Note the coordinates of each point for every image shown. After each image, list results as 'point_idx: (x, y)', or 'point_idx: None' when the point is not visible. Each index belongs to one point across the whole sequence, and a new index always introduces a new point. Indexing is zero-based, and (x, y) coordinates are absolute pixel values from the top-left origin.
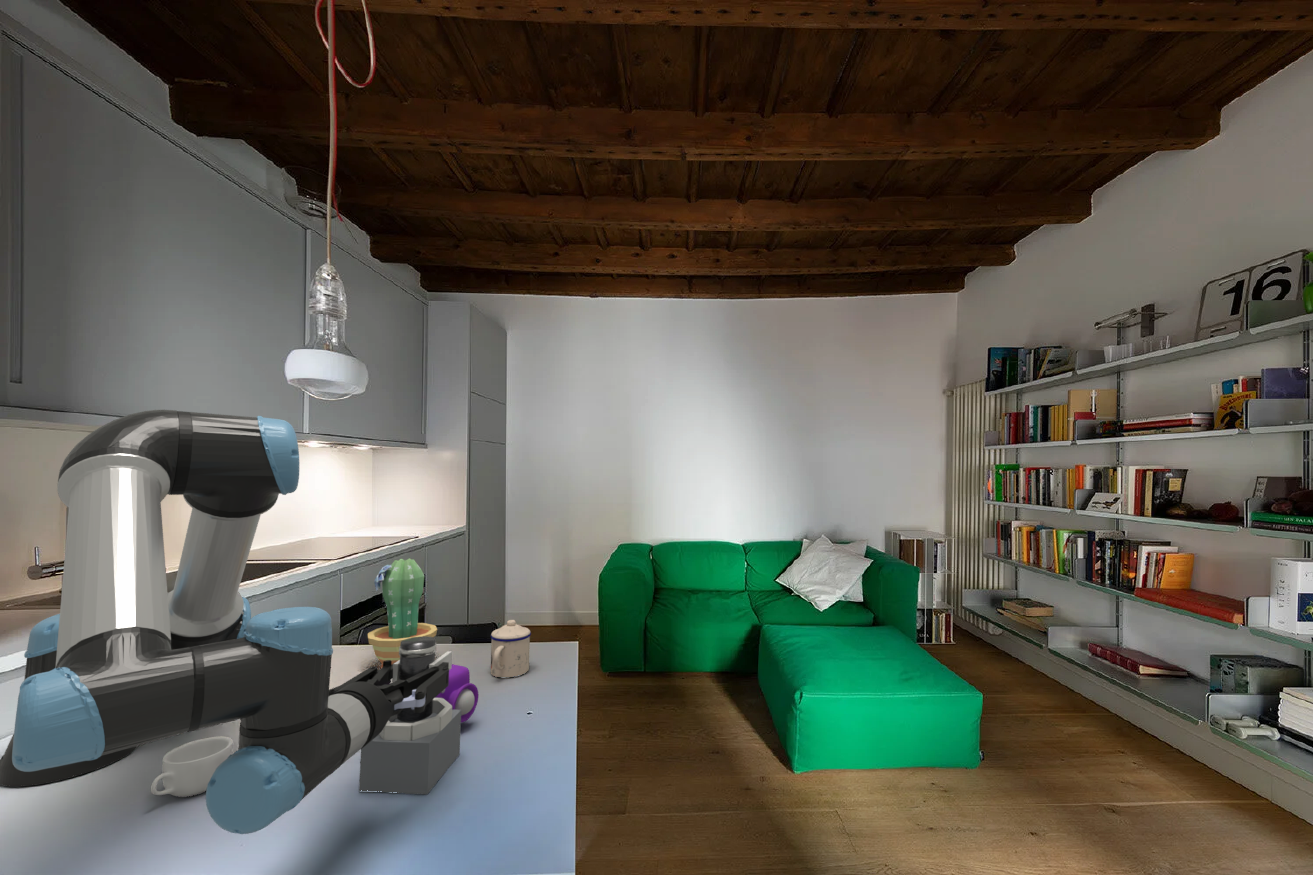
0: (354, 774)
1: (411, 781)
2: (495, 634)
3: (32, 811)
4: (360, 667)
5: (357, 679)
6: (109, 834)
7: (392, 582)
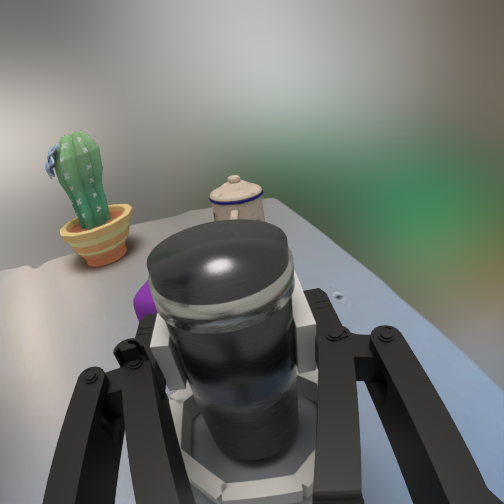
0: None
1: None
2: (219, 197)
3: None
4: (67, 266)
5: (73, 483)
6: None
7: (65, 162)
